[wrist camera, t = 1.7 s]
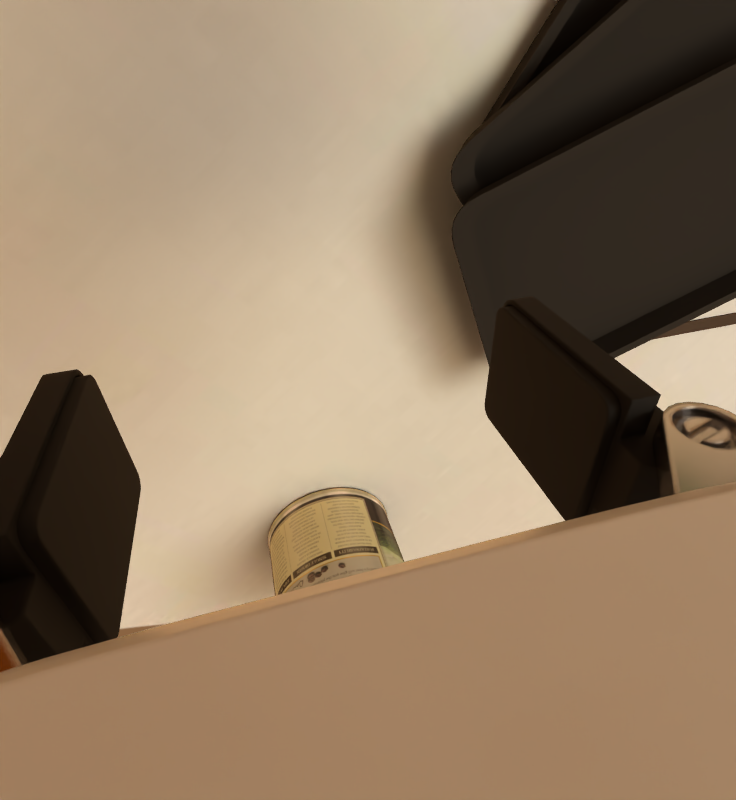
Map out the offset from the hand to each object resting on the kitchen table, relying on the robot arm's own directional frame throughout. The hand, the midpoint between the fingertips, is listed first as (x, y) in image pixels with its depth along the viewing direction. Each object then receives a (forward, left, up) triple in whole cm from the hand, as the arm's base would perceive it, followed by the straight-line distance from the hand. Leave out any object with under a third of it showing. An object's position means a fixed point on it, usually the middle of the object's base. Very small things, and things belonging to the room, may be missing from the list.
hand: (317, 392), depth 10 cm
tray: (0, +21, -18) cm, 28 cm away
